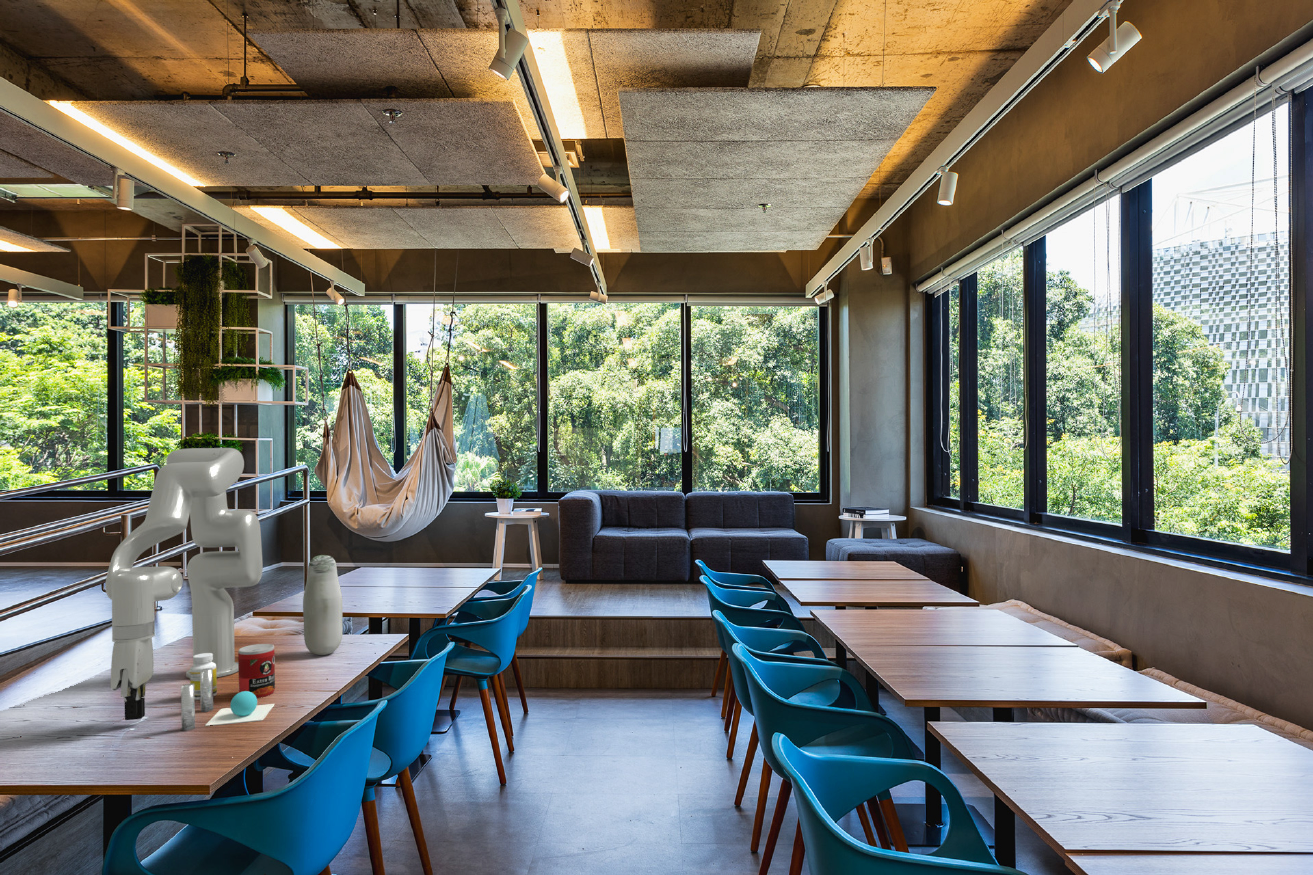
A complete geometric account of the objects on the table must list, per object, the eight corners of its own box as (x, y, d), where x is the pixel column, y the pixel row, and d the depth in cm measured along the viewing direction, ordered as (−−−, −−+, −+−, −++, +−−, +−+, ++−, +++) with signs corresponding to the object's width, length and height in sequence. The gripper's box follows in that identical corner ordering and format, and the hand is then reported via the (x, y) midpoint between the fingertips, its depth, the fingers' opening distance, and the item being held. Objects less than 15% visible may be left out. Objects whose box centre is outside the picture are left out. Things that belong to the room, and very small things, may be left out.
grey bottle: (299, 654, 221) (297, 555, 221) (335, 647, 228) (333, 551, 228) (311, 660, 214) (309, 558, 214) (348, 653, 221) (346, 554, 221)
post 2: (202, 708, 174) (202, 668, 175) (214, 707, 175) (214, 667, 175) (199, 712, 172) (198, 671, 172) (211, 711, 173) (210, 670, 173)
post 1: (183, 727, 163) (183, 684, 163) (196, 725, 163) (196, 682, 163) (179, 731, 160) (179, 687, 160) (192, 729, 161) (192, 686, 161)
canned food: (251, 701, 179) (250, 653, 179) (231, 696, 184) (231, 649, 184) (282, 692, 186) (281, 645, 186) (262, 687, 190) (262, 642, 190)
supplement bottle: (213, 691, 188) (212, 650, 188) (219, 696, 184) (219, 654, 184) (187, 696, 184) (187, 655, 184) (194, 701, 180) (193, 659, 180)
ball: (255, 684, 172) (264, 705, 172) (232, 694, 171) (242, 716, 171) (245, 690, 167) (255, 712, 167) (222, 701, 166) (232, 723, 166)
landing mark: (221, 709, 174) (221, 708, 174) (274, 704, 176) (274, 703, 176) (205, 726, 163) (205, 725, 163) (262, 720, 166) (262, 719, 166)
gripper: (128, 625, 171) (129, 708, 171) (97, 640, 157) (98, 732, 157) (166, 622, 173) (167, 705, 173) (139, 637, 159) (140, 728, 158)
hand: (134, 717), depth 165 cm, fingers closed
